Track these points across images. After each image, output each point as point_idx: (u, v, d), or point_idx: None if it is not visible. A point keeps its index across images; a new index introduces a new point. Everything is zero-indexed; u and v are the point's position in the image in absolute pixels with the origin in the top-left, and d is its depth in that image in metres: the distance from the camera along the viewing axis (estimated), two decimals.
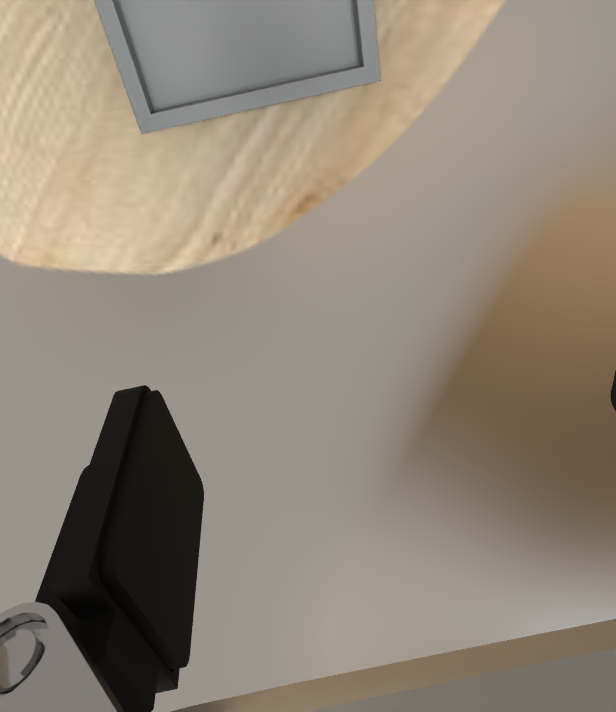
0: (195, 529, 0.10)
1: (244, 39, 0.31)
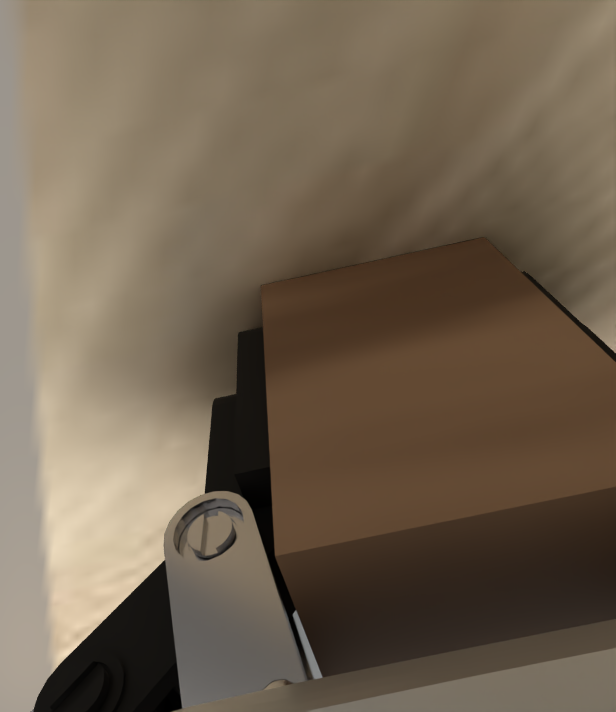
0: None
1: None
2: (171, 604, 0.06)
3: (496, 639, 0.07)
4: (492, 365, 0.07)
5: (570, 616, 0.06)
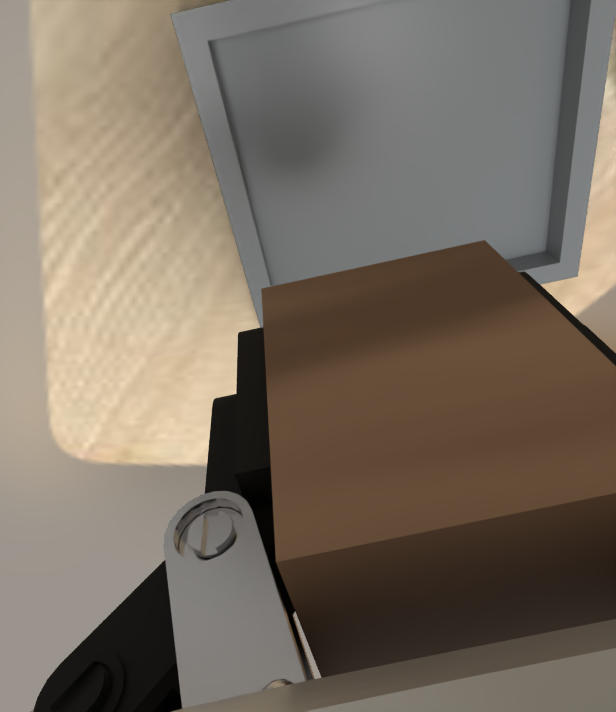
0: None
1: (405, 229, 0.24)
2: (171, 604, 0.06)
3: None
4: (494, 369, 0.07)
5: (571, 620, 0.06)
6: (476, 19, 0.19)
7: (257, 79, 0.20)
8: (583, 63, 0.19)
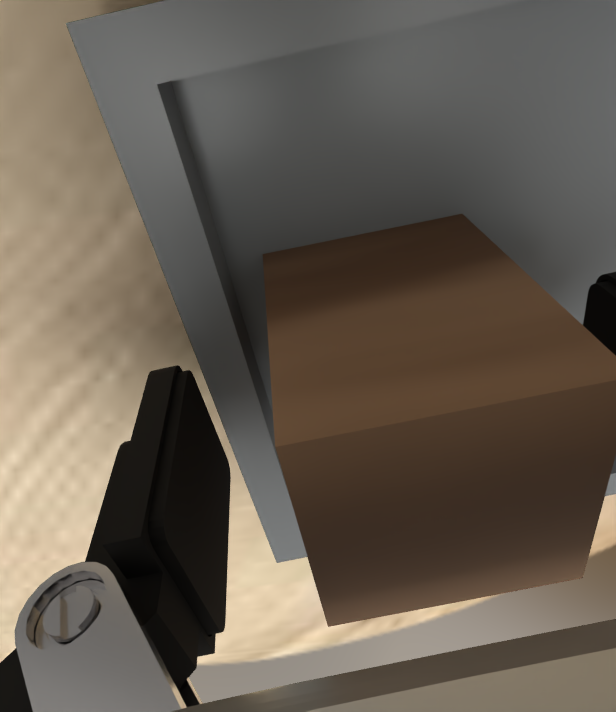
0: (224, 505, 0.10)
1: None
2: (33, 705, 0.05)
3: (460, 543, 0.08)
4: (461, 311, 0.08)
5: (522, 520, 0.08)
6: None
7: (268, 151, 0.10)
8: None
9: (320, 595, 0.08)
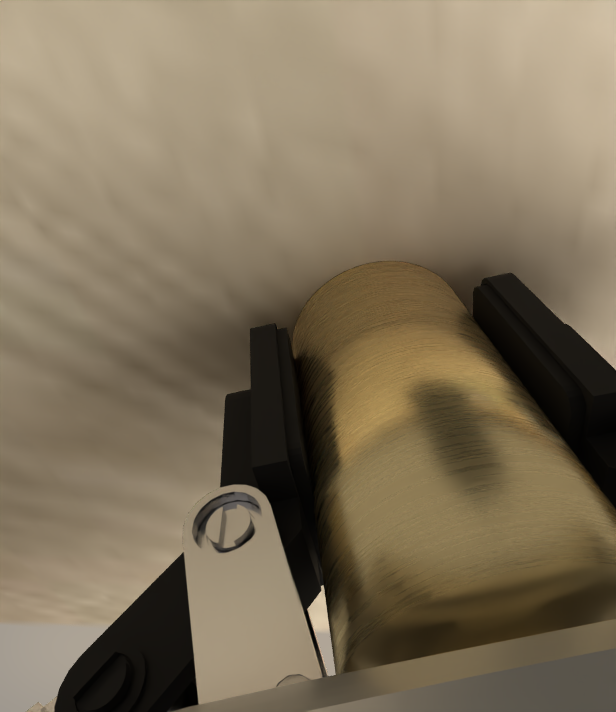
0: None
1: None
2: (189, 595, 0.06)
3: None
4: None
5: None
6: None
7: None
8: None
9: None
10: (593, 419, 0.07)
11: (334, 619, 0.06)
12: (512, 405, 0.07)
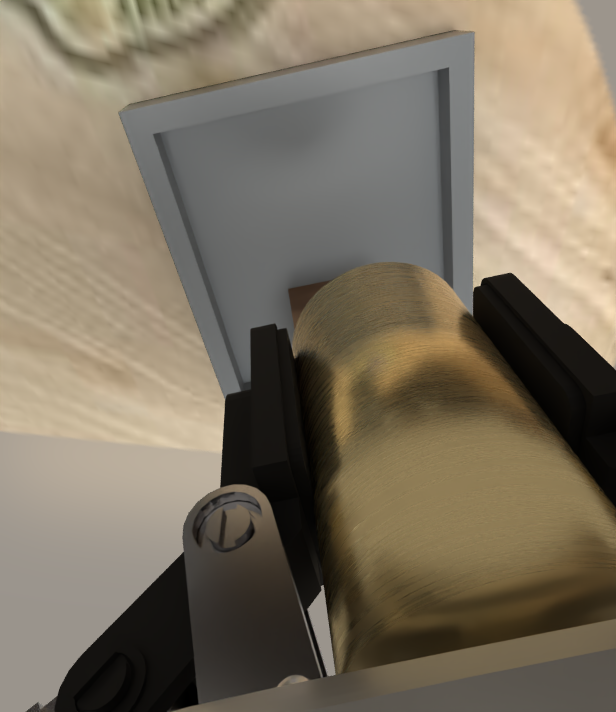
0: None
1: (388, 238, 0.25)
2: (189, 594, 0.06)
3: None
4: None
5: None
6: (214, 206, 0.23)
7: None
8: (236, 115, 0.20)
9: None
10: (593, 419, 0.07)
11: (335, 624, 0.06)
12: (514, 407, 0.07)
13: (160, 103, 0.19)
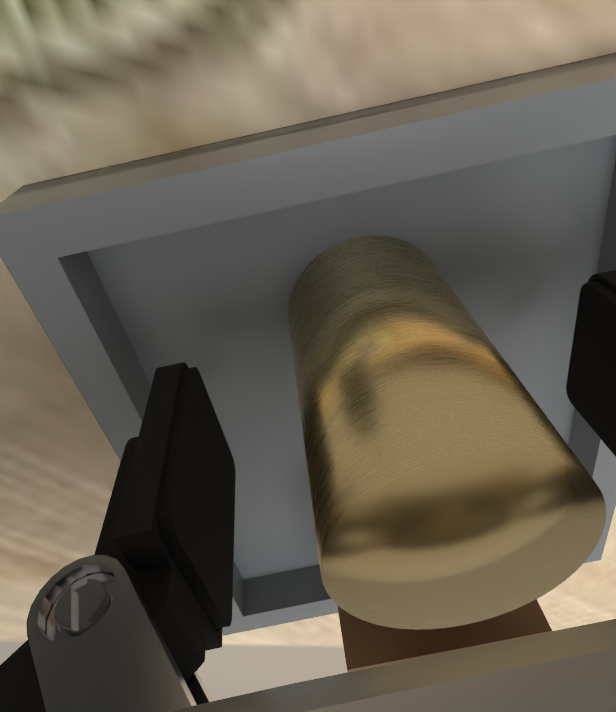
0: (230, 501, 0.10)
1: None
2: (44, 695, 0.05)
3: None
4: None
5: None
6: (190, 355, 0.13)
7: (277, 548, 0.18)
8: (229, 219, 0.10)
9: None
10: None
11: (317, 516, 0.07)
12: (470, 345, 0.08)
13: (67, 200, 0.09)
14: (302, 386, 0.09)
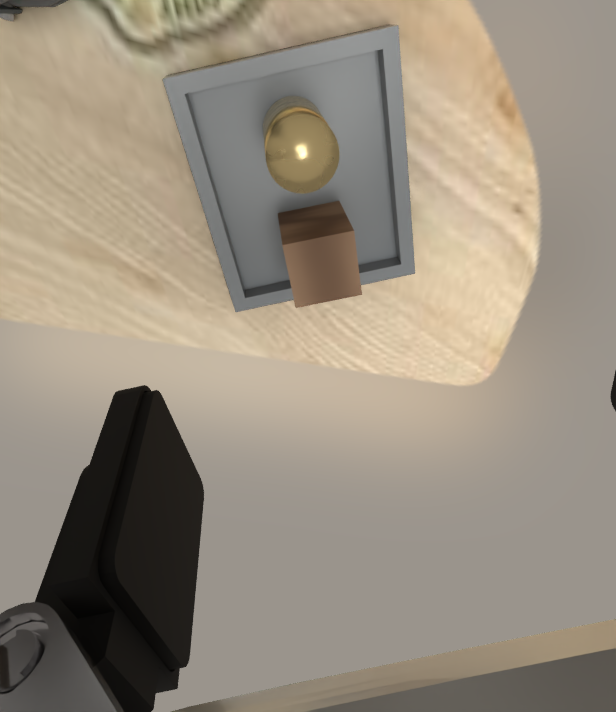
0: (195, 529, 0.10)
1: (349, 174, 0.35)
2: None
3: (331, 267, 0.32)
4: None
5: (325, 255, 0.31)
6: (224, 148, 0.33)
7: (261, 268, 0.38)
8: (241, 81, 0.29)
9: (346, 297, 0.33)
10: None
11: (265, 148, 0.27)
12: (310, 109, 0.28)
13: (190, 72, 0.29)
14: (264, 134, 0.29)
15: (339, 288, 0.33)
